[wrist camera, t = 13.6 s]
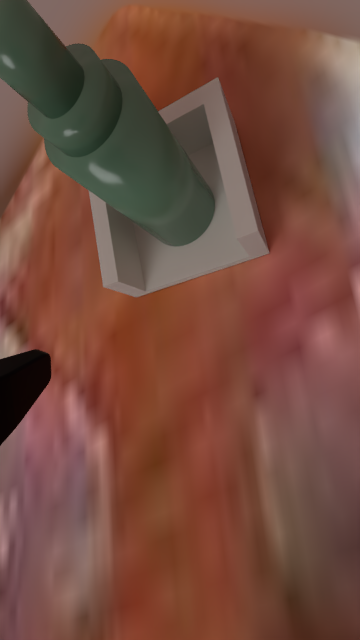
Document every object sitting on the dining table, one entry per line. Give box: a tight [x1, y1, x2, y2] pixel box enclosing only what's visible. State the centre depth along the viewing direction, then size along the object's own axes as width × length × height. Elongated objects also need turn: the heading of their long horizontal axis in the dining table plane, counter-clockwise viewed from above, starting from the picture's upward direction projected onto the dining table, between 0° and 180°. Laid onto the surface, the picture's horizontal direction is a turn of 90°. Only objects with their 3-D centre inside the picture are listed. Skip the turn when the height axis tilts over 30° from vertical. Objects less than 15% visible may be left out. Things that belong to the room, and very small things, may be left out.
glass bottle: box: [0, 0, 215, 246], centre depth 16 cm, size 5×5×14 cm
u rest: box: [89, 77, 269, 297], centre depth 22 cm, size 10×10×4 cm
